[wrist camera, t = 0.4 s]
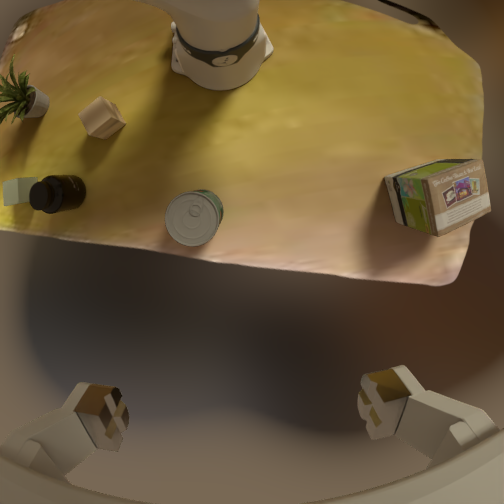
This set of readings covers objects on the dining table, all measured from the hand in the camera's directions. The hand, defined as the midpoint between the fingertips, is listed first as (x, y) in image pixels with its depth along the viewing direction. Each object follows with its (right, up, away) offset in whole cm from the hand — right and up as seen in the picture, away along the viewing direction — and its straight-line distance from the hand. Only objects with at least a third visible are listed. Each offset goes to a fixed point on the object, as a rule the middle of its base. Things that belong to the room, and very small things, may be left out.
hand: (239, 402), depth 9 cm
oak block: (-26, +29, +38) cm, 55 cm away
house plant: (-45, +37, +35) cm, 69 cm away
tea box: (+34, +17, +44) cm, 58 cm away
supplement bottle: (-35, +17, +41) cm, 56 cm away
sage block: (-47, +18, +40) cm, 65 cm away
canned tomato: (-9, +12, +43) cm, 46 cm away
